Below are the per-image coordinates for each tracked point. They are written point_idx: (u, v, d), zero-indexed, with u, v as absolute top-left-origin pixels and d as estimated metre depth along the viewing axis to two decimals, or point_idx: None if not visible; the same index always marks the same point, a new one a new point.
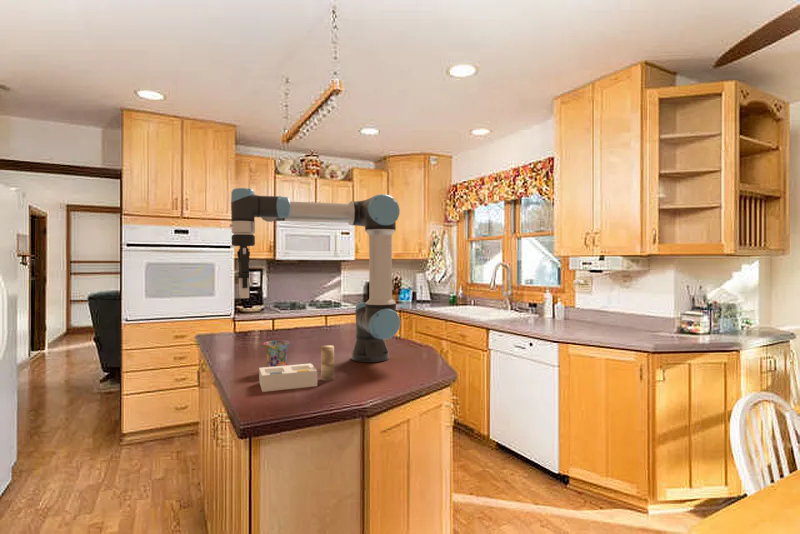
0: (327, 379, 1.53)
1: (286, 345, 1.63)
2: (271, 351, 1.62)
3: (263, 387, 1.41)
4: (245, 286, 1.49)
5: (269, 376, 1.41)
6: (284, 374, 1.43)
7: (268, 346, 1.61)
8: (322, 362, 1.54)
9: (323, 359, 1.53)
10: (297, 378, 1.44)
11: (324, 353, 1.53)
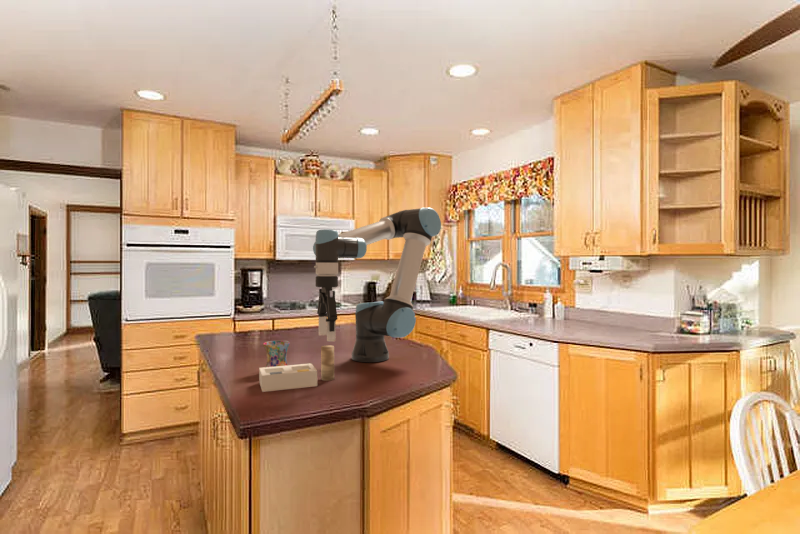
0: (327, 379, 1.53)
1: (286, 345, 1.63)
2: (271, 351, 1.62)
3: (263, 387, 1.41)
4: (332, 329, 1.47)
5: (269, 376, 1.41)
6: (284, 374, 1.43)
7: (268, 346, 1.61)
8: (322, 362, 1.54)
9: (323, 359, 1.53)
10: (297, 378, 1.44)
11: (324, 353, 1.53)
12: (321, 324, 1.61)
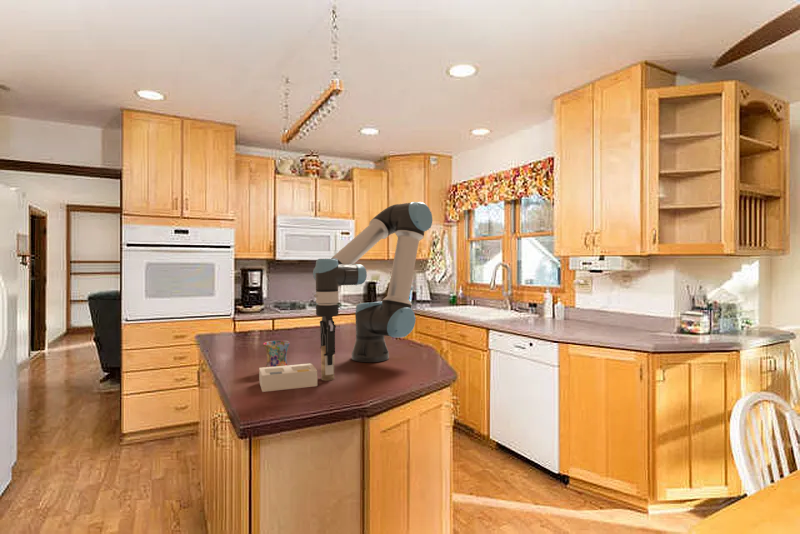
0: (327, 379, 1.53)
1: (286, 345, 1.63)
2: (271, 351, 1.62)
3: (263, 387, 1.41)
4: (330, 363, 1.52)
5: (269, 376, 1.41)
6: (284, 374, 1.43)
7: (268, 346, 1.61)
8: (322, 362, 1.54)
9: (323, 359, 1.53)
10: (297, 378, 1.44)
11: (324, 353, 1.53)
12: None
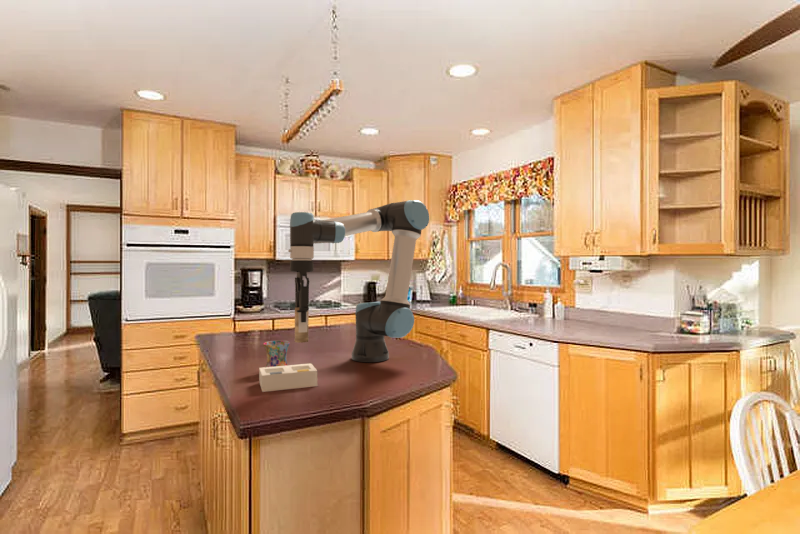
0: (300, 341, 1.48)
1: (286, 345, 1.63)
2: (271, 351, 1.62)
3: (263, 387, 1.41)
4: (304, 320, 1.46)
5: (269, 376, 1.41)
6: (284, 374, 1.43)
7: (268, 346, 1.61)
8: (296, 323, 1.48)
9: (297, 320, 1.48)
10: (297, 378, 1.44)
11: (297, 314, 1.48)
12: None
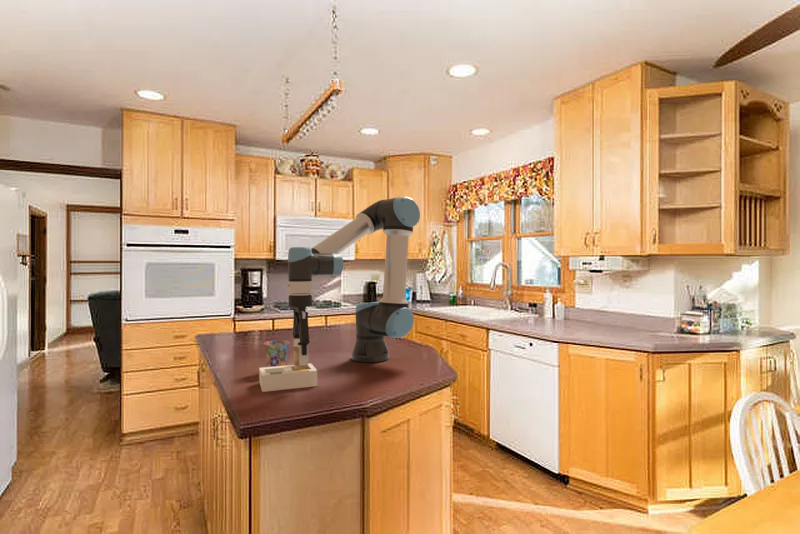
0: None
1: (286, 345, 1.63)
2: (271, 351, 1.62)
3: (263, 387, 1.41)
4: (304, 353, 1.43)
5: (269, 376, 1.41)
6: (284, 374, 1.43)
7: (268, 346, 1.61)
8: (295, 363, 1.48)
9: (296, 360, 1.48)
10: (297, 378, 1.44)
11: (296, 354, 1.48)
12: None
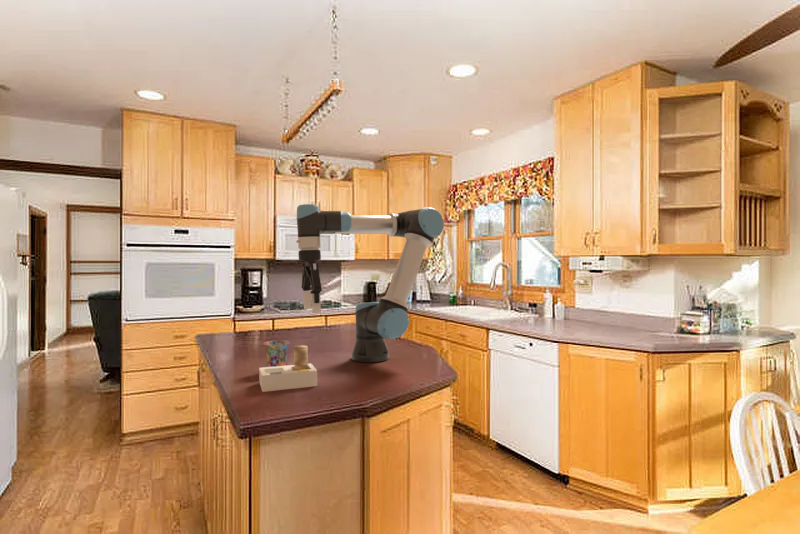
0: None
1: (286, 345, 1.63)
2: (271, 351, 1.62)
3: (263, 387, 1.41)
4: (317, 301, 1.51)
5: (269, 376, 1.41)
6: (284, 374, 1.43)
7: (268, 346, 1.61)
8: (295, 363, 1.49)
9: (296, 360, 1.48)
10: (297, 378, 1.44)
11: (297, 354, 1.48)
12: (305, 298, 1.64)
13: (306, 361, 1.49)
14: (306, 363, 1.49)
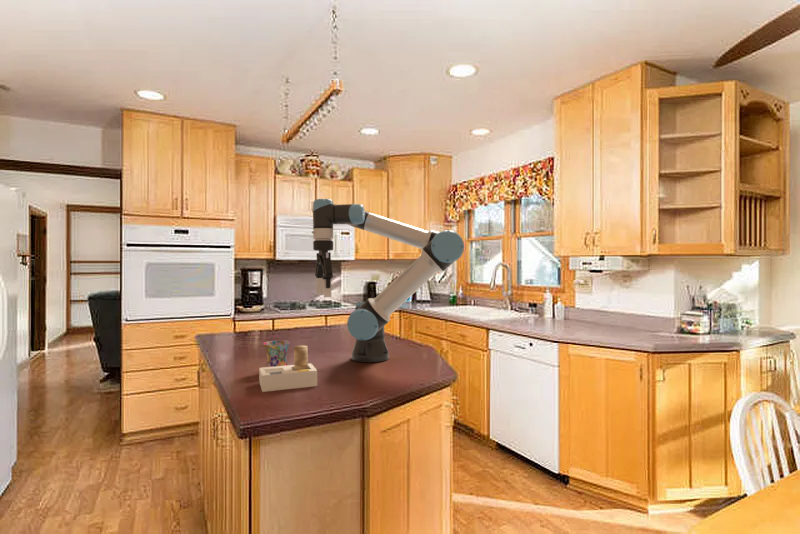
0: None
1: (286, 345, 1.63)
2: (271, 351, 1.62)
3: (263, 387, 1.41)
4: (328, 286, 1.67)
5: (269, 376, 1.41)
6: (284, 374, 1.43)
7: (268, 346, 1.61)
8: (295, 363, 1.49)
9: (296, 359, 1.48)
10: (297, 378, 1.44)
11: (297, 354, 1.48)
12: (318, 285, 1.80)
13: (306, 361, 1.49)
14: (306, 363, 1.49)
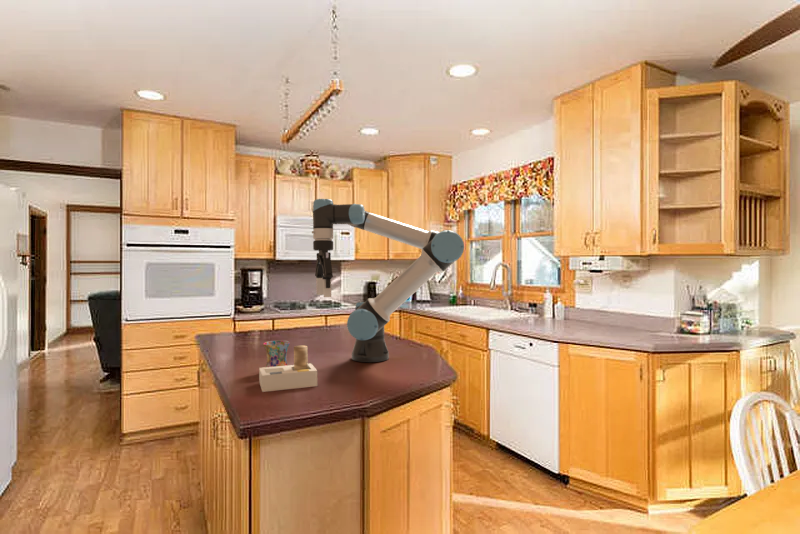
0: None
1: (286, 345, 1.63)
2: (271, 351, 1.62)
3: (263, 387, 1.41)
4: (328, 286, 1.67)
5: (269, 376, 1.41)
6: (284, 374, 1.43)
7: (268, 346, 1.61)
8: (295, 363, 1.48)
9: (296, 360, 1.48)
10: (297, 378, 1.44)
11: (296, 354, 1.48)
12: (318, 285, 1.80)
13: (306, 361, 1.49)
14: (306, 363, 1.49)
